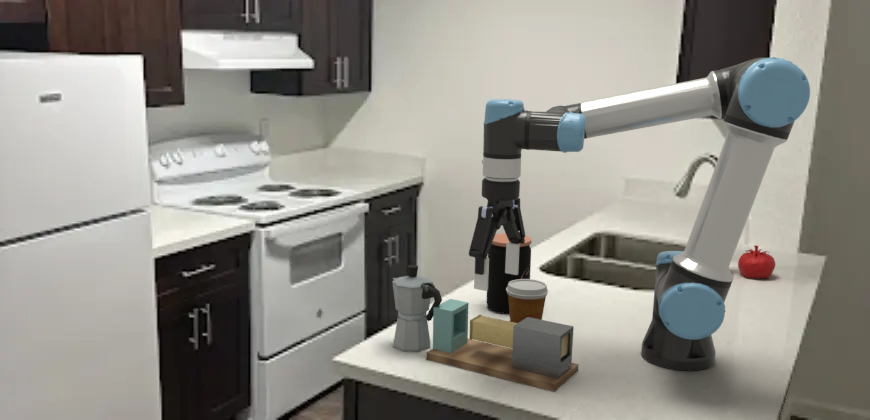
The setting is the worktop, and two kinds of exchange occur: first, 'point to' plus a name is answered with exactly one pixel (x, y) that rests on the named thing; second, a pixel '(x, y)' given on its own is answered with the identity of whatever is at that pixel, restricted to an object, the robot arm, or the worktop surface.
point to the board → (496, 364)
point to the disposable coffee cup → (526, 299)
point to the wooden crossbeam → (499, 332)
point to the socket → (450, 325)
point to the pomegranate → (756, 264)
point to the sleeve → (541, 347)
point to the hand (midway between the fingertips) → (496, 281)
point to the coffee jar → (497, 275)
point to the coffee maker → (413, 310)
